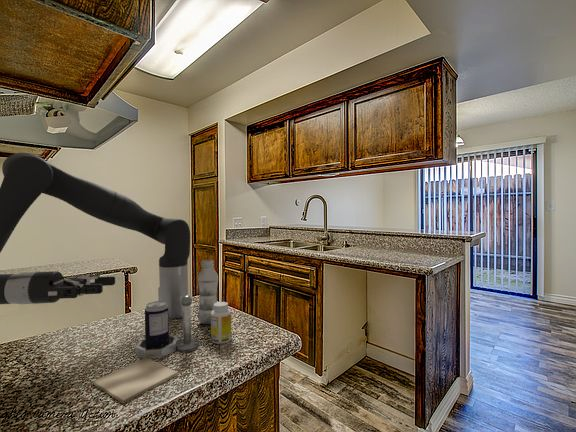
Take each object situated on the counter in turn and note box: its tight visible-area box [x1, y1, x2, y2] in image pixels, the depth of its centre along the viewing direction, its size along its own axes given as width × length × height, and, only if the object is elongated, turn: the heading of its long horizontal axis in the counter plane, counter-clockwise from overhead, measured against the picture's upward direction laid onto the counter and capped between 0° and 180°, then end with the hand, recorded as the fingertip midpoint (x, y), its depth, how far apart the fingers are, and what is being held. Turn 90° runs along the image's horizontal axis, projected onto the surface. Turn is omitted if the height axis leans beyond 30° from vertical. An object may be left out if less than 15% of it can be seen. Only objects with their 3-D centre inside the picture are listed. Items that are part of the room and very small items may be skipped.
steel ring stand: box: [135, 295, 200, 359], centre depth 81 cm, size 13×13×14 cm
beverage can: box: [144, 300, 170, 349], centre depth 81 cm, size 6×6×12 cm
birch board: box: [92, 358, 178, 405], centre depth 67 cm, size 12×12×1 cm
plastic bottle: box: [197, 259, 219, 325], centre depth 99 cm, size 6×7×20 cm
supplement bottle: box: [210, 301, 233, 345], centre depth 86 cm, size 6×6×10 cm
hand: (108, 284), depth 78 cm, fingers open, 8 cm apart
